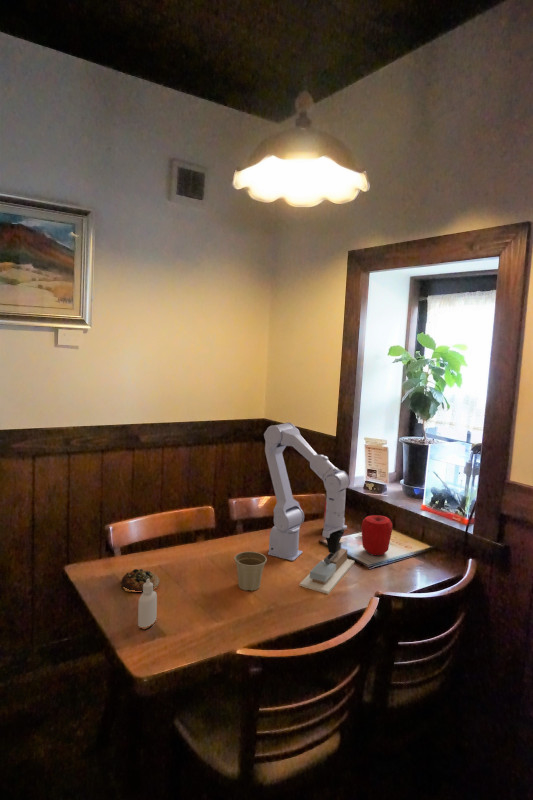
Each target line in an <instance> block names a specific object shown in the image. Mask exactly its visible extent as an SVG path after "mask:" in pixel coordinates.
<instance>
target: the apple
mask: <svg viewBox="0 0 533 800" xmlns="http://www.w3.org/2000/svg"><path fill="white" fill-rule="evenodd" d="M392 532H393V523H392V521H391V519H390V518H389V517H387V516H384V515H378V514H377V515H374V514H373V515H368V516H366V517H365V518H364V519H363V520H362V521H361V541H362V542H361V543H362V548H363V549H364V550H365V551H366V552H367V553H368V554H369V553H370V554H369V555H371V554H373V555H372V556H375V555H380V556H383V555H384V554H386V553H387V552H388V551H389V549H390V548H389V547H390V542H391V537H392Z"/></svg>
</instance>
